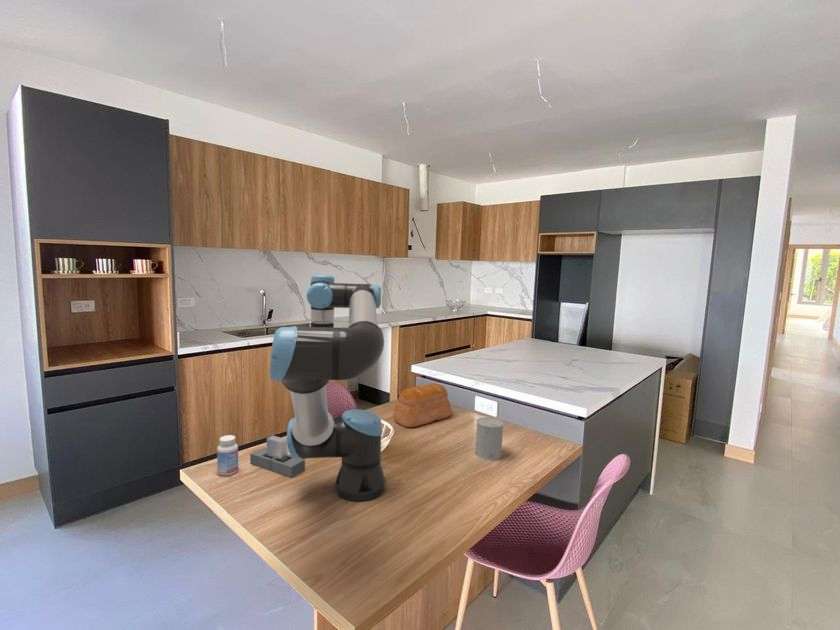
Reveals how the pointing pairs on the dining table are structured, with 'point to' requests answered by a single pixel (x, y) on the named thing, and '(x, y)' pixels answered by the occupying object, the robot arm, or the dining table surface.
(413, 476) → the dining table surface
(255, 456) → the grey slotted block
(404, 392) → the bread
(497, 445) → the grey concrete cylinder
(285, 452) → the white rectangular block
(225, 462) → the pill bottle
